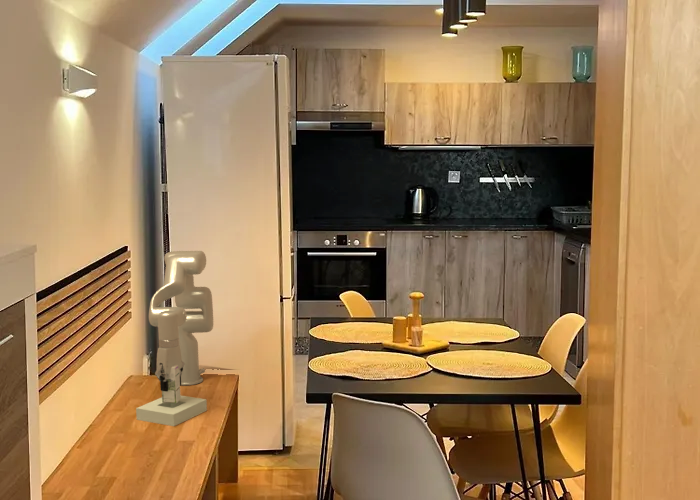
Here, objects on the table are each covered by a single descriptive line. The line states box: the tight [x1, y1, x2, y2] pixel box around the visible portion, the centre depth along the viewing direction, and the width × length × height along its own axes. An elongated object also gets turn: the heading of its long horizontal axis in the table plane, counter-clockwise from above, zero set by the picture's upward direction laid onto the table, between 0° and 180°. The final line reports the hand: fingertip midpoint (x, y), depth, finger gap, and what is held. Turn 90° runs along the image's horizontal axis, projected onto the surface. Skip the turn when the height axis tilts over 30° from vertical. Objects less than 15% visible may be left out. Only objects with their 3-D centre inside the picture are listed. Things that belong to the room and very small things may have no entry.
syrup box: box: [161, 365, 182, 403], centre depth 314 cm, size 6×6×14 cm
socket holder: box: [135, 395, 208, 427], centre depth 315 cm, size 20×18×4 cm
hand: (171, 387), depth 314 cm, fingers closed on syrup box, 7 cm apart
